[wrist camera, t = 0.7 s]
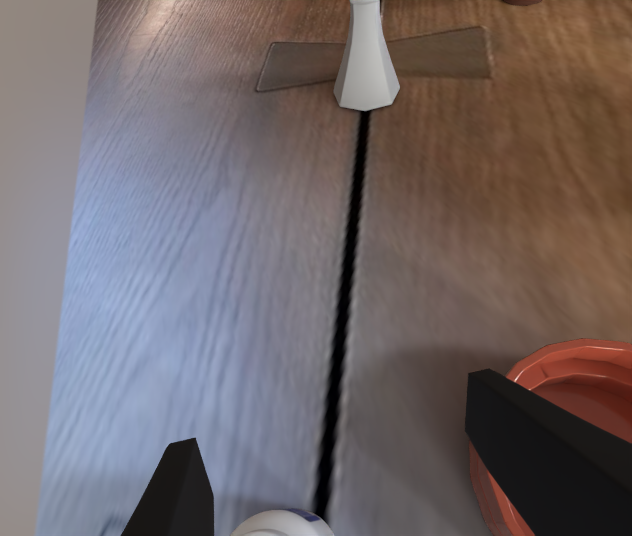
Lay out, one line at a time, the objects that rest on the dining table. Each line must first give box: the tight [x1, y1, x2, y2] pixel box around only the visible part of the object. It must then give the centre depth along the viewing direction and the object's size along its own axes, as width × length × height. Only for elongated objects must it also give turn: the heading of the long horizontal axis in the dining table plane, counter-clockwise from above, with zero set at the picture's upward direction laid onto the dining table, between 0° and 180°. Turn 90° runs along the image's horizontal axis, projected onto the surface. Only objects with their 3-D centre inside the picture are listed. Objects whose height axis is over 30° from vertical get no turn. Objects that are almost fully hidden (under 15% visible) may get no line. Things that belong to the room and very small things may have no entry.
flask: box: [333, 0, 400, 111], centre depth 38 cm, size 7×7×10 cm
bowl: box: [469, 338, 632, 536], centre depth 20 cm, size 13×13×4 cm
